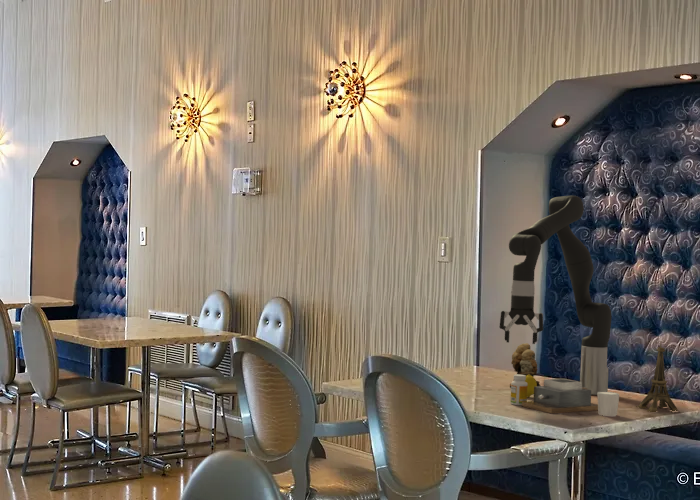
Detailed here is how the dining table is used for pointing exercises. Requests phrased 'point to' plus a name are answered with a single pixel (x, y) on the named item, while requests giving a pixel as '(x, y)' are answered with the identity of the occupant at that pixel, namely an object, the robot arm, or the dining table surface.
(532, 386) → the lemon
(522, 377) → the supplement bottle
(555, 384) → the grey and brown box
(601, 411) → the white cup
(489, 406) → the dining table surface
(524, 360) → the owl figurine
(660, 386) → the eiffel tower
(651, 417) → the dining table surface
